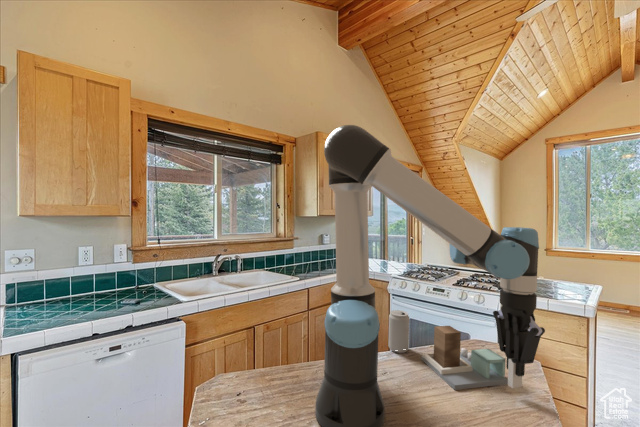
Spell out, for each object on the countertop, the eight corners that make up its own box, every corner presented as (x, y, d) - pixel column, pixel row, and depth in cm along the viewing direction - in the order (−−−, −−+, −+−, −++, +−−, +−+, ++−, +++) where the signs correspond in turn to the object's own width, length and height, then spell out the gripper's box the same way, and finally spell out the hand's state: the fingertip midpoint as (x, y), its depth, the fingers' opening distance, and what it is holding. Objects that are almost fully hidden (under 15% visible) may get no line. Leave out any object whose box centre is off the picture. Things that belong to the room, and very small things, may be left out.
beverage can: (409, 355, 94) (410, 317, 94) (388, 352, 96) (389, 315, 96) (407, 346, 101) (408, 310, 101) (388, 344, 102) (388, 308, 102)
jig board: (453, 390, 76) (453, 377, 76) (420, 359, 92) (420, 348, 92) (508, 383, 80) (508, 371, 80) (467, 355, 95) (467, 344, 95)
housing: (486, 378, 80) (487, 360, 79) (470, 366, 85) (471, 349, 85) (504, 376, 81) (505, 358, 81) (488, 365, 87) (488, 348, 87)
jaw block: (443, 369, 84) (445, 333, 84) (433, 360, 89) (434, 326, 89) (459, 367, 85) (460, 332, 85) (448, 358, 90) (449, 325, 90)
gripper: (556, 297, 68) (552, 401, 69) (509, 283, 81) (506, 370, 81) (528, 298, 67) (524, 404, 67) (484, 284, 80) (482, 373, 80)
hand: (514, 385), depth 74 cm, fingers closed
